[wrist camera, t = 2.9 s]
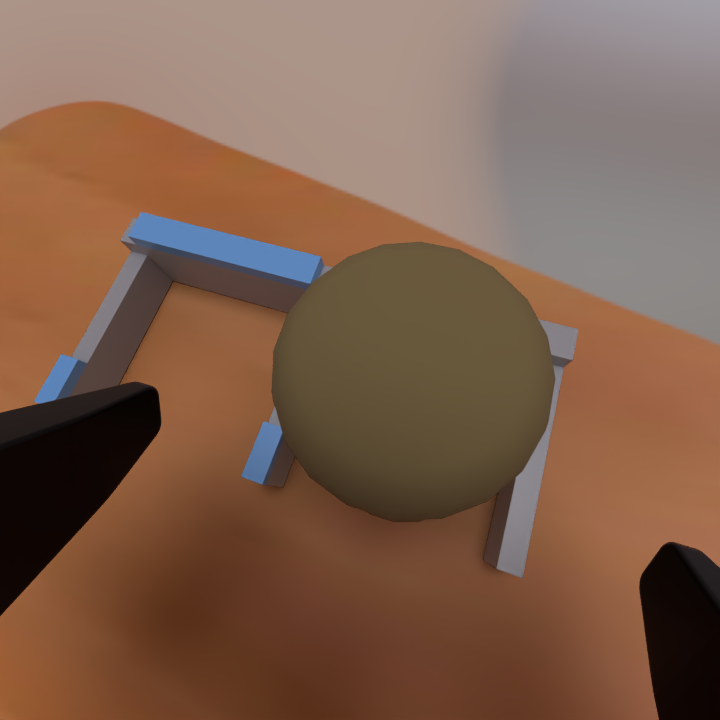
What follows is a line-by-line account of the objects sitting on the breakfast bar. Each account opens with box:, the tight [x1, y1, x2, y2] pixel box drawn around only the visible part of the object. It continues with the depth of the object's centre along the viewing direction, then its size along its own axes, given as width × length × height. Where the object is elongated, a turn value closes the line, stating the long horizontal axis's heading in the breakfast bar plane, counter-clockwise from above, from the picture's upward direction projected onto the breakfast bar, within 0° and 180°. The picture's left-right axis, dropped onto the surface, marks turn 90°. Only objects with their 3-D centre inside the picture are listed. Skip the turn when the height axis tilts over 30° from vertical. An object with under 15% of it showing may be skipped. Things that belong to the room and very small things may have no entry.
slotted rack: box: [34, 212, 578, 578], centre depth 16 cm, size 18×8×4 cm, turn 71°
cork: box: [272, 242, 555, 522], centre depth 12 cm, size 6×6×11 cm
